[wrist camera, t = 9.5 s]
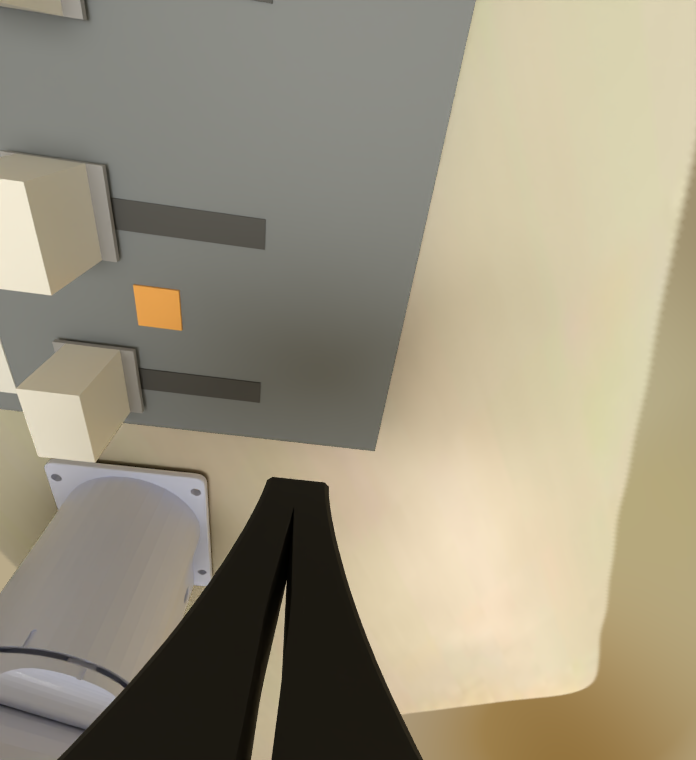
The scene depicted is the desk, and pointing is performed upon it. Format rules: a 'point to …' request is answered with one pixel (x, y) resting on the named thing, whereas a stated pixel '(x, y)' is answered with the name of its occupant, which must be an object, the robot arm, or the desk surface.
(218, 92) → the panel
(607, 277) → the desk surface
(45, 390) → the breaker handle
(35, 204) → the block
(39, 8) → the block
